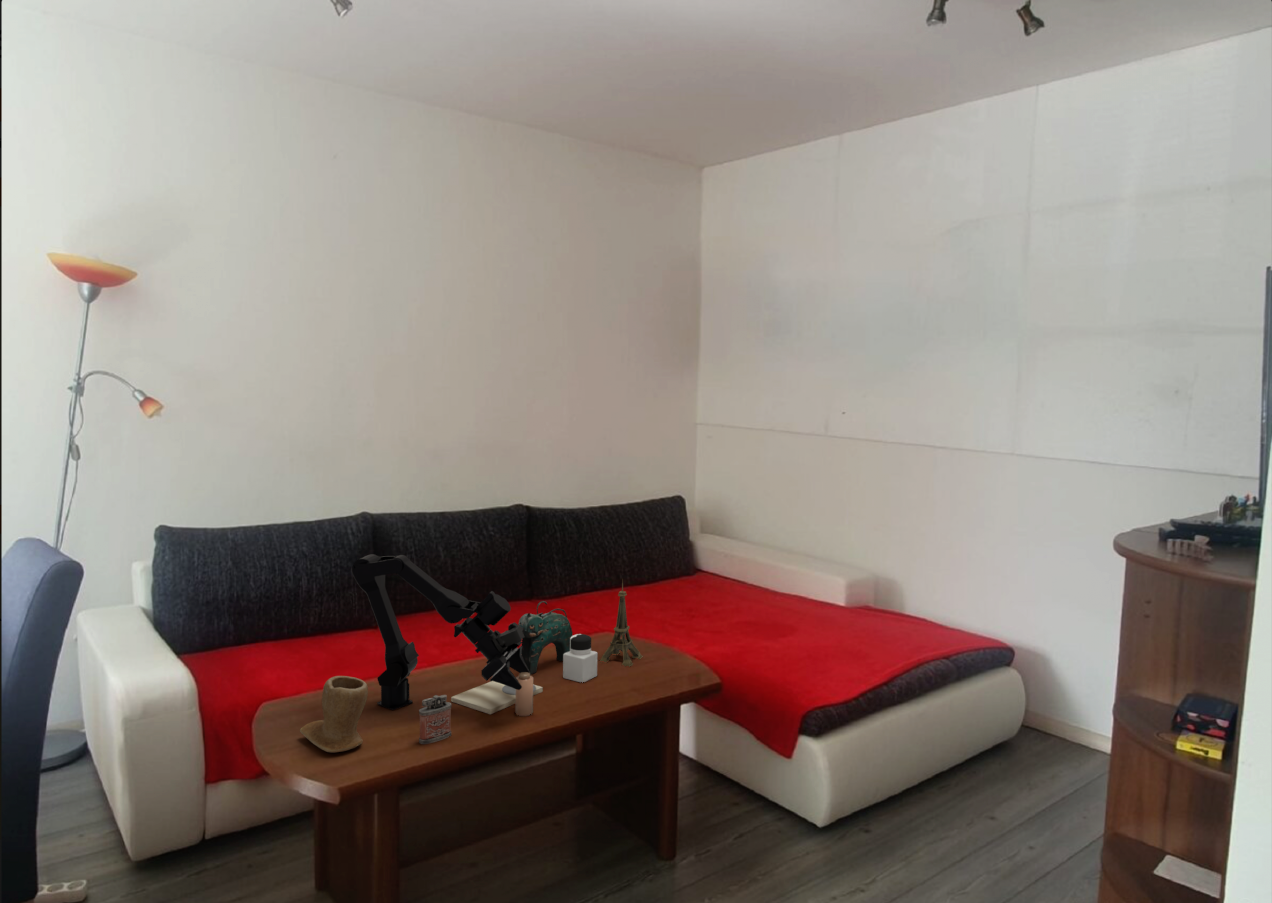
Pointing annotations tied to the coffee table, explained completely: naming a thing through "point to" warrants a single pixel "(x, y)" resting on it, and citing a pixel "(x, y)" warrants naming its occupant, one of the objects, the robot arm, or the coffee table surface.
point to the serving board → (490, 697)
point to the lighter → (435, 719)
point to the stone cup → (339, 715)
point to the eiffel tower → (620, 632)
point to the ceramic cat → (544, 635)
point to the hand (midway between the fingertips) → (525, 682)
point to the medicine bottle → (580, 659)
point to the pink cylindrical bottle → (524, 695)
